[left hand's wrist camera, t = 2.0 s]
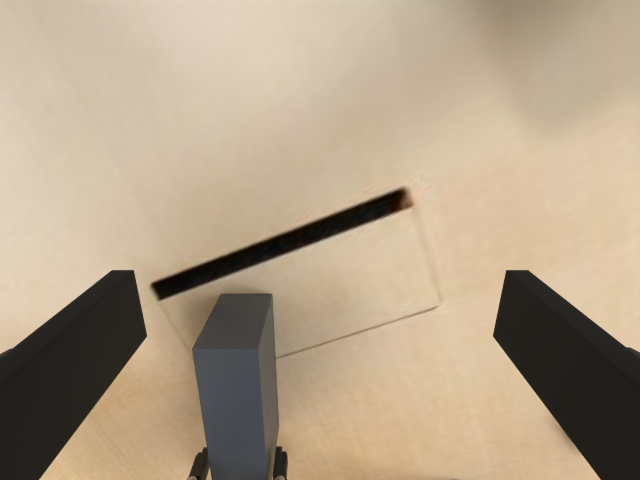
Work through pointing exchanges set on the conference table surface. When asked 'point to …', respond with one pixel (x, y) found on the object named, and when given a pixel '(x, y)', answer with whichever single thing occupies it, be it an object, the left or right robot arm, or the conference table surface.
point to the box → (239, 387)
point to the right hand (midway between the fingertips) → (244, 451)
